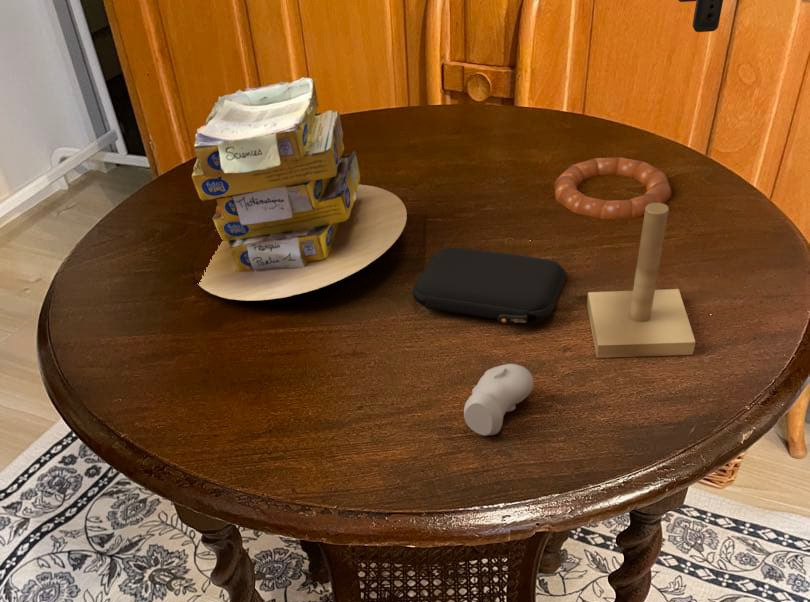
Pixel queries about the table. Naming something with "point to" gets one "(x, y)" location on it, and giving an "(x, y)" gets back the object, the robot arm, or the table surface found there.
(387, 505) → the table surface
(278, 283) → the stack of yellow boxes
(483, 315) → the carrying case
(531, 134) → the table surface
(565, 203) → the ring
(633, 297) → the post
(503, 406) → the smooth white sculpture
